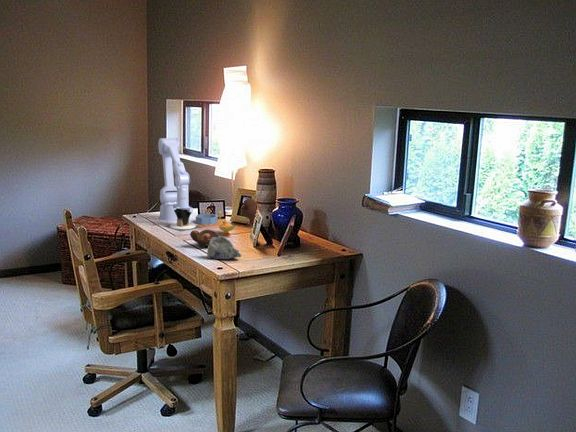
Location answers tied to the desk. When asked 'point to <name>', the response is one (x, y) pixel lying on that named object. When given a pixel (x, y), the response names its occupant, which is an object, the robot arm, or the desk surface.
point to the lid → (180, 225)
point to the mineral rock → (221, 249)
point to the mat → (183, 230)
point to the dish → (206, 219)
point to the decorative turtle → (203, 237)
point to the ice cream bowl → (249, 210)
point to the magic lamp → (226, 227)
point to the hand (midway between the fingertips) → (183, 223)
